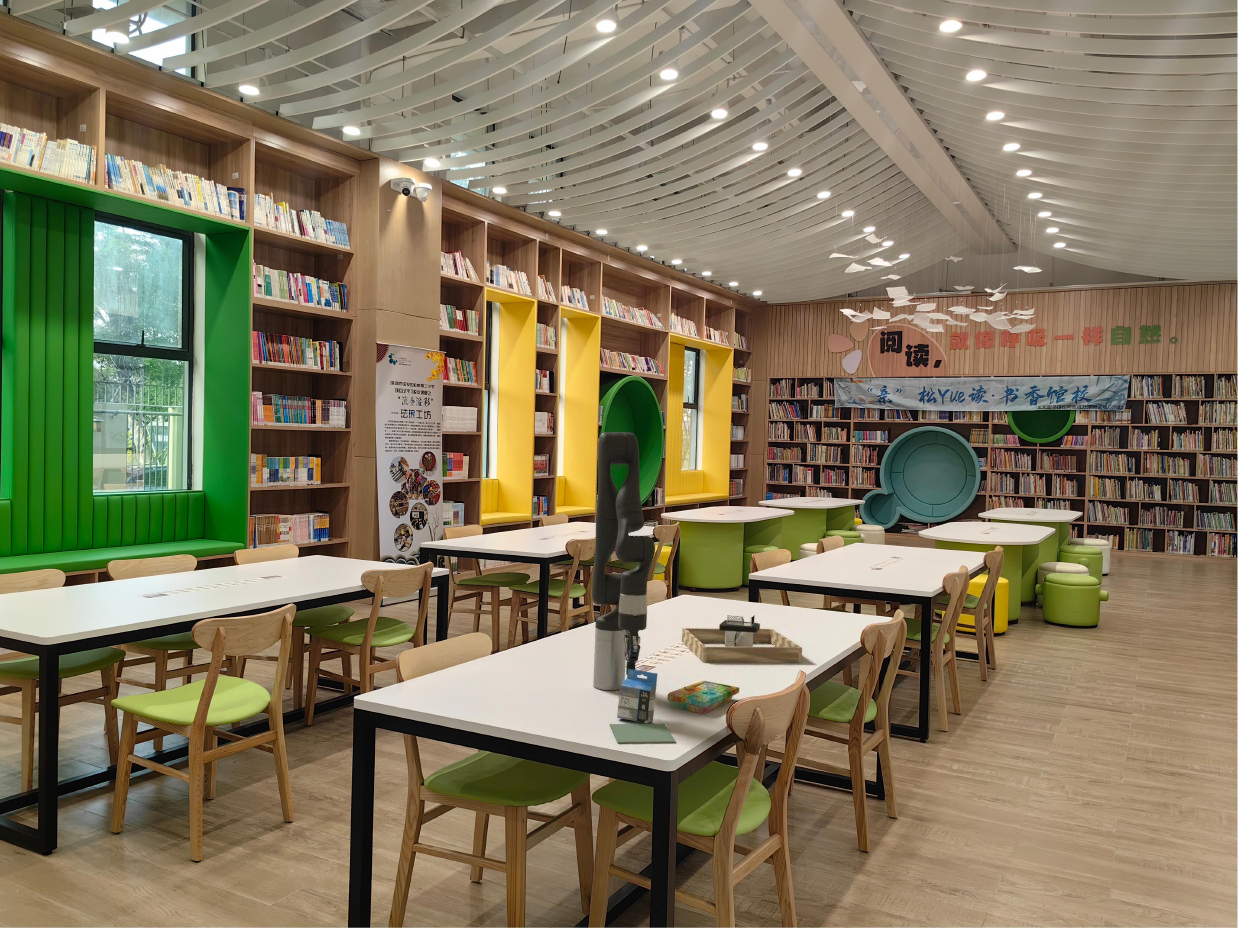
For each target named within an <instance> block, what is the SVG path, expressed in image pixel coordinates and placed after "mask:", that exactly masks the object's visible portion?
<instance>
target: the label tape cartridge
mask: <svg viewBox="0 0 1238 928" xmlns="http://www.w3.org/2000/svg"><path fill="white" fill-rule="evenodd" d="M626 676H627V677H626V678H625V681H624V682H623V683H622V684H621V685H620V689H619V695H618V704H617V714H616V715H617V716H616V718H617V719H623V720H628V721H633V722H636V723H637V722H638V723H641V724H653V722H654V712H655V703H656V693H657V682H658V673H657V672H650V671H643V670H639V669H638V670H637V669H635V670H633V669H628V674H626ZM638 676H643V677H644V678H643V677H638ZM645 677H646V678H645Z"/></svg>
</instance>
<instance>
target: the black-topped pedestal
mask: <svg viewBox="0 0 1238 928" xmlns="http://www.w3.org/2000/svg"><path fill="white" fill-rule="evenodd" d="M755 617H756V615H755V614H753V616H751V620H750V621H745V619H744V616H739V615H738V616H737V615H732V616H731V615H728V614H727V616H726V619H724V621H722V622H721V623H720V624H719V627H718V628H719V630H722V631H725V643H724V647H754V643H753V633H756V632H757V631H758V630H759V629H761V623H758V622H755Z"/></svg>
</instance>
